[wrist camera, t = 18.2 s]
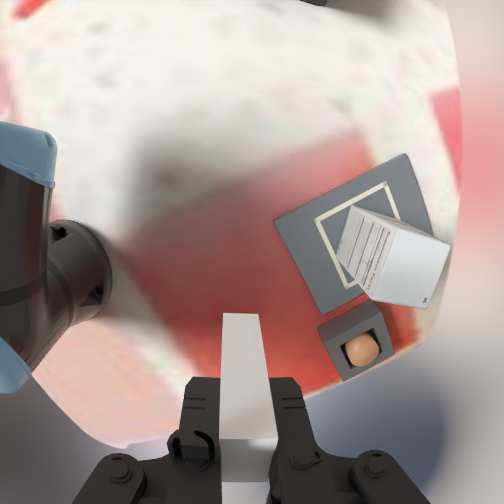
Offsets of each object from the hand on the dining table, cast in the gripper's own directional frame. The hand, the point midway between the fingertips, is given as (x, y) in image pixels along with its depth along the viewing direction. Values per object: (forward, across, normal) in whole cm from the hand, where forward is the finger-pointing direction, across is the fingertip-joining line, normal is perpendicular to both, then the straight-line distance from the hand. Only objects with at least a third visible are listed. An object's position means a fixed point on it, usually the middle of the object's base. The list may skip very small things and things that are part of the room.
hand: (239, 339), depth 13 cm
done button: (+23, +19, -16) cm, 34 cm away
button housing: (+24, +19, -16) cm, 35 cm away
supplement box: (+24, +17, -1) cm, 29 cm away
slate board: (+24, +17, -1) cm, 30 cm away
